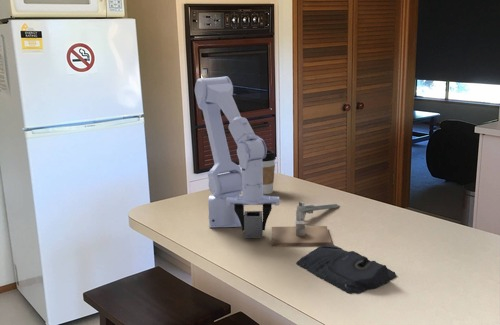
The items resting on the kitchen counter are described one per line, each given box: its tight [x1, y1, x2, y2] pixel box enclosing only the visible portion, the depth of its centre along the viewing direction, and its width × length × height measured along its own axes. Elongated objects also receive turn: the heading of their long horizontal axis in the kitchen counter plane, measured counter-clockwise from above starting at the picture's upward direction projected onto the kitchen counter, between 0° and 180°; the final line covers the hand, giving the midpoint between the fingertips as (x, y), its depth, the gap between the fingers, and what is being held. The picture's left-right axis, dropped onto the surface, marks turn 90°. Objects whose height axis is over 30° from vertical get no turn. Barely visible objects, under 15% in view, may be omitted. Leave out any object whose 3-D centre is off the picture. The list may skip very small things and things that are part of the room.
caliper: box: [295, 201, 340, 222], centre depth 165 cm, size 20×1×6 cm, turn 134°
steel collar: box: [243, 210, 264, 239], centre depth 147 cm, size 5×5×6 cm
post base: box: [271, 220, 333, 247], centre depth 147 cm, size 16×12×5 cm
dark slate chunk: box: [295, 244, 397, 295], centre depth 126 cm, size 15×22×5 cm
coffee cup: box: [262, 149, 277, 195], centre depth 187 cm, size 8×8×15 cm
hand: (253, 229), depth 147 cm, fingers closed on steel collar, 5 cm apart
